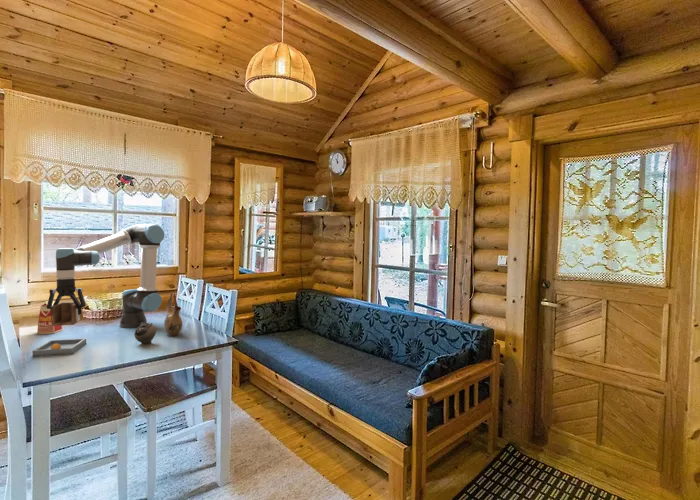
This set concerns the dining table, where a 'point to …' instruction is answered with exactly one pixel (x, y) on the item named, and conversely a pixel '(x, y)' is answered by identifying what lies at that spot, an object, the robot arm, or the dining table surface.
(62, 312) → the brown open box
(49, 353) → the tray
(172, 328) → the ceramic vessel
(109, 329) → the dining table surface
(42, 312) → the milk carton
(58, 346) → the ball
